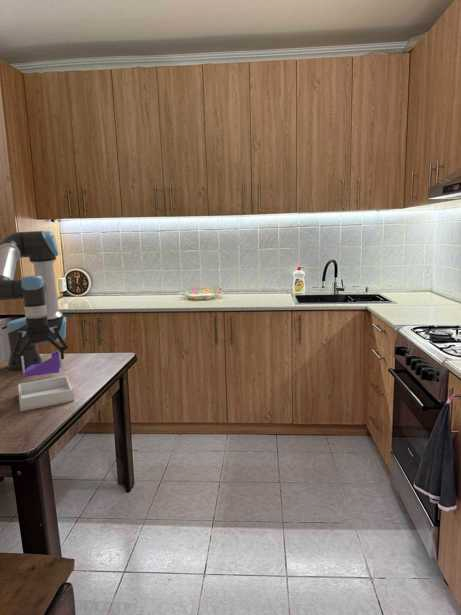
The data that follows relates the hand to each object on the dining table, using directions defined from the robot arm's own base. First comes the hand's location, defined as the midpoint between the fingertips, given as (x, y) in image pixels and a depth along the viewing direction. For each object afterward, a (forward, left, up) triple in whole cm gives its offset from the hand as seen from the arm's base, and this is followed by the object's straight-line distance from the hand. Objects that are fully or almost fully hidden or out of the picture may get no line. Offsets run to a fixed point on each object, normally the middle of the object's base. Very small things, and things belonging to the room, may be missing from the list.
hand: (42, 370), depth 172 cm
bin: (0, 0, -11) cm, 11 cm away
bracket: (0, 0, -1) cm, 1 cm away
